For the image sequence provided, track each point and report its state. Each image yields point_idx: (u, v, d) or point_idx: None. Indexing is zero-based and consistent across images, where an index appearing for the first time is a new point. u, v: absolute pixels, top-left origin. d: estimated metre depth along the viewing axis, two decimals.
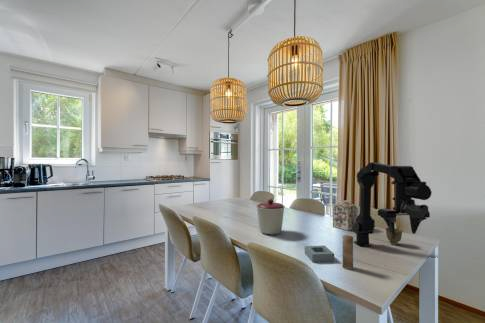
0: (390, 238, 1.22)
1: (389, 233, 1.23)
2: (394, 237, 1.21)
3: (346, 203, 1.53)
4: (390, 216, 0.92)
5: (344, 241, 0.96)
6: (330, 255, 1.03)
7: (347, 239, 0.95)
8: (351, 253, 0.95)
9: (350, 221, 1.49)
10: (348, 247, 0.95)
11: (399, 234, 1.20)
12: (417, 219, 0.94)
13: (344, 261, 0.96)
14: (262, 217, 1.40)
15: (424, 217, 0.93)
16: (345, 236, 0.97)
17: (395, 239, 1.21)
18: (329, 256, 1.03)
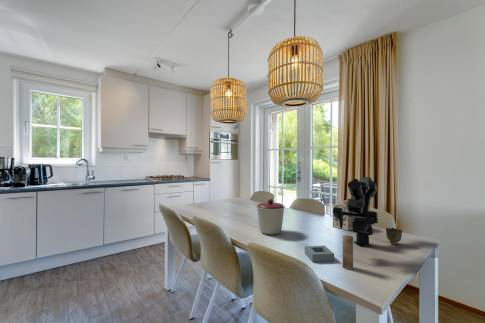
0: (390, 238, 1.22)
1: (389, 233, 1.23)
2: (394, 237, 1.21)
3: (346, 203, 1.53)
4: (335, 209, 1.11)
5: (344, 241, 0.96)
6: (330, 255, 1.03)
7: (347, 239, 0.95)
8: (351, 253, 0.95)
9: (350, 221, 1.49)
10: (348, 247, 0.95)
11: (399, 234, 1.20)
12: None
13: (344, 261, 0.96)
14: (262, 217, 1.40)
15: (369, 215, 1.02)
16: (345, 236, 0.97)
17: (395, 239, 1.21)
18: (329, 256, 1.03)
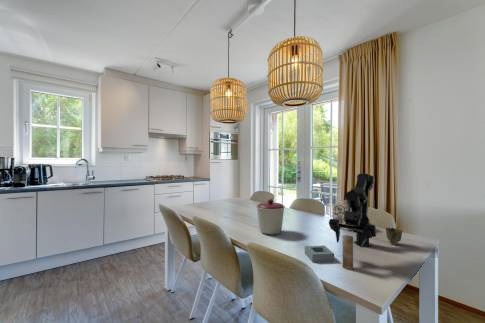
0: (390, 238, 1.22)
1: (389, 233, 1.23)
2: (394, 237, 1.21)
3: (346, 203, 1.53)
4: (332, 221, 1.06)
5: (344, 241, 0.96)
6: (330, 255, 1.03)
7: (347, 239, 0.95)
8: (351, 253, 0.95)
9: None
10: (348, 247, 0.95)
11: (399, 234, 1.20)
12: None
13: (344, 261, 0.96)
14: (262, 217, 1.40)
15: (367, 228, 0.97)
16: (345, 236, 0.97)
17: (395, 239, 1.21)
18: (329, 256, 1.03)
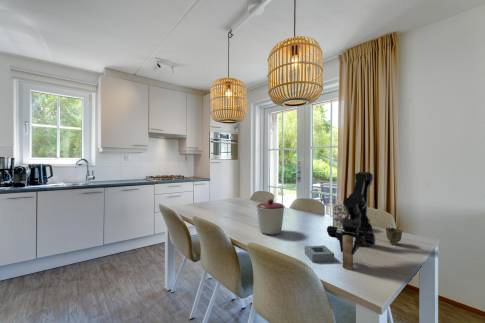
0: (390, 238, 1.22)
1: (389, 233, 1.23)
2: (394, 237, 1.21)
3: None
4: (330, 228, 1.03)
5: (344, 241, 0.96)
6: (330, 255, 1.03)
7: (347, 239, 0.95)
8: (351, 253, 0.95)
9: None
10: (348, 247, 0.95)
11: (399, 234, 1.20)
12: None
13: (344, 261, 0.96)
14: (262, 217, 1.40)
15: (366, 236, 0.94)
16: (345, 236, 0.97)
17: (395, 239, 1.21)
18: (329, 256, 1.03)
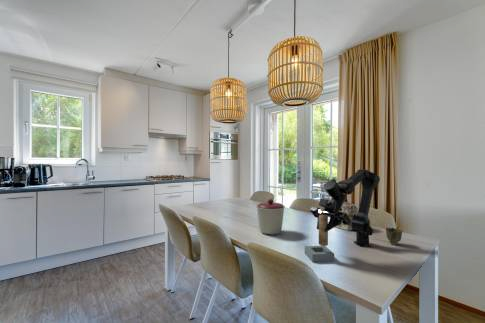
0: (390, 238, 1.22)
1: (389, 233, 1.23)
2: (394, 237, 1.21)
3: (346, 203, 1.53)
4: (312, 208, 1.13)
5: (319, 219, 1.05)
6: (330, 255, 1.03)
7: (321, 217, 1.04)
8: (324, 230, 1.03)
9: None
10: (321, 225, 1.04)
11: (399, 234, 1.20)
12: None
13: (319, 238, 1.05)
14: (262, 217, 1.40)
15: (338, 216, 1.01)
16: (321, 215, 1.06)
17: (395, 239, 1.21)
18: (329, 256, 1.03)
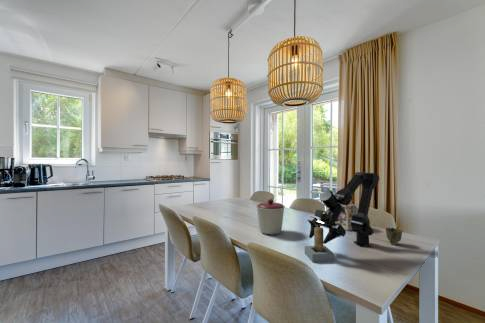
0: (390, 238, 1.22)
1: (389, 233, 1.23)
2: (394, 237, 1.21)
3: None
4: (309, 218, 1.15)
5: (314, 232, 1.07)
6: (330, 255, 1.03)
7: (316, 230, 1.06)
8: (319, 243, 1.05)
9: (350, 221, 1.49)
10: (316, 237, 1.06)
11: (399, 234, 1.20)
12: None
13: (314, 249, 1.07)
14: (262, 217, 1.40)
15: (333, 227, 1.02)
16: (316, 228, 1.08)
17: (395, 239, 1.21)
18: (329, 256, 1.03)
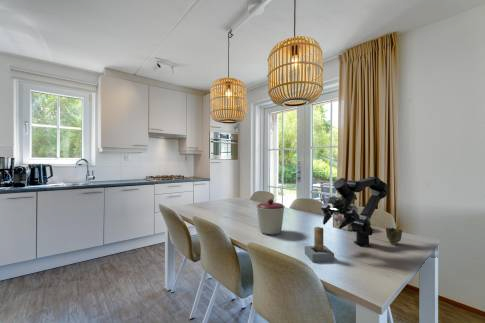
0: (390, 238, 1.22)
1: (389, 233, 1.23)
2: (394, 237, 1.21)
3: None
4: (322, 206, 1.19)
5: (314, 232, 1.07)
6: (330, 255, 1.03)
7: (316, 230, 1.06)
8: (319, 243, 1.05)
9: None
10: (316, 237, 1.06)
11: (399, 234, 1.20)
12: None
13: (314, 249, 1.07)
14: (262, 217, 1.40)
15: (347, 212, 1.06)
16: (317, 227, 1.08)
17: (395, 239, 1.21)
18: (329, 256, 1.03)
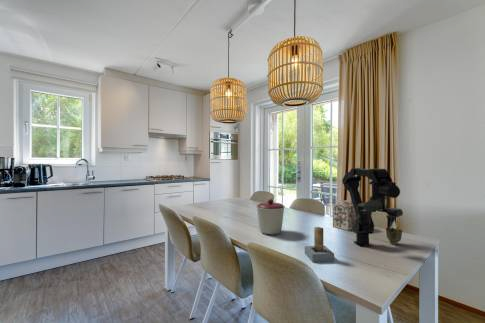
0: (390, 238, 1.22)
1: (389, 233, 1.23)
2: (394, 237, 1.21)
3: (346, 203, 1.53)
4: (359, 208, 1.16)
5: (314, 232, 1.07)
6: (330, 255, 1.03)
7: (316, 230, 1.06)
8: (319, 243, 1.05)
9: (350, 221, 1.49)
10: (316, 237, 1.06)
11: (399, 234, 1.20)
12: None
13: (314, 249, 1.07)
14: (262, 217, 1.40)
15: (389, 215, 1.03)
16: (317, 227, 1.08)
17: (395, 239, 1.21)
18: (329, 256, 1.03)
